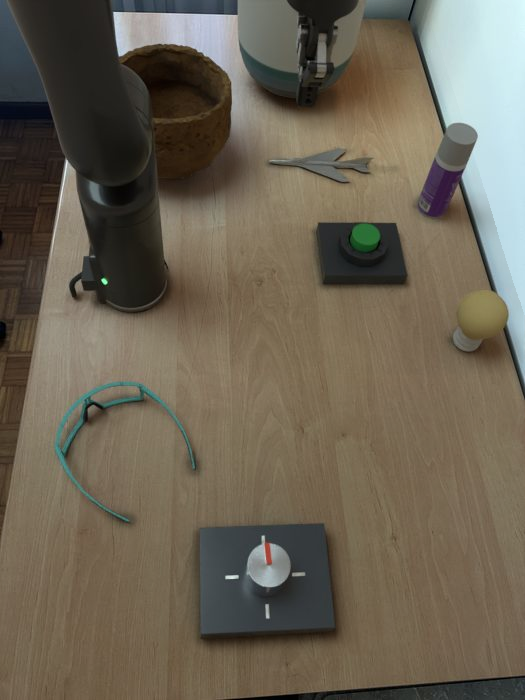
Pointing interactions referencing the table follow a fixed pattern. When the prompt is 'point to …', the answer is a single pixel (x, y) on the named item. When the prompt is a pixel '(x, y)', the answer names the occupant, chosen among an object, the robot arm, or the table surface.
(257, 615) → the panel
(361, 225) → the button
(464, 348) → the light bulb
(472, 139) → the container
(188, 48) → the bowl
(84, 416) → the teal curved thin frame
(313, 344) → the table surface
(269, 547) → the dial
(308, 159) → the toy airplane
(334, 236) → the block
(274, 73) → the planter
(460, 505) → the table surface
